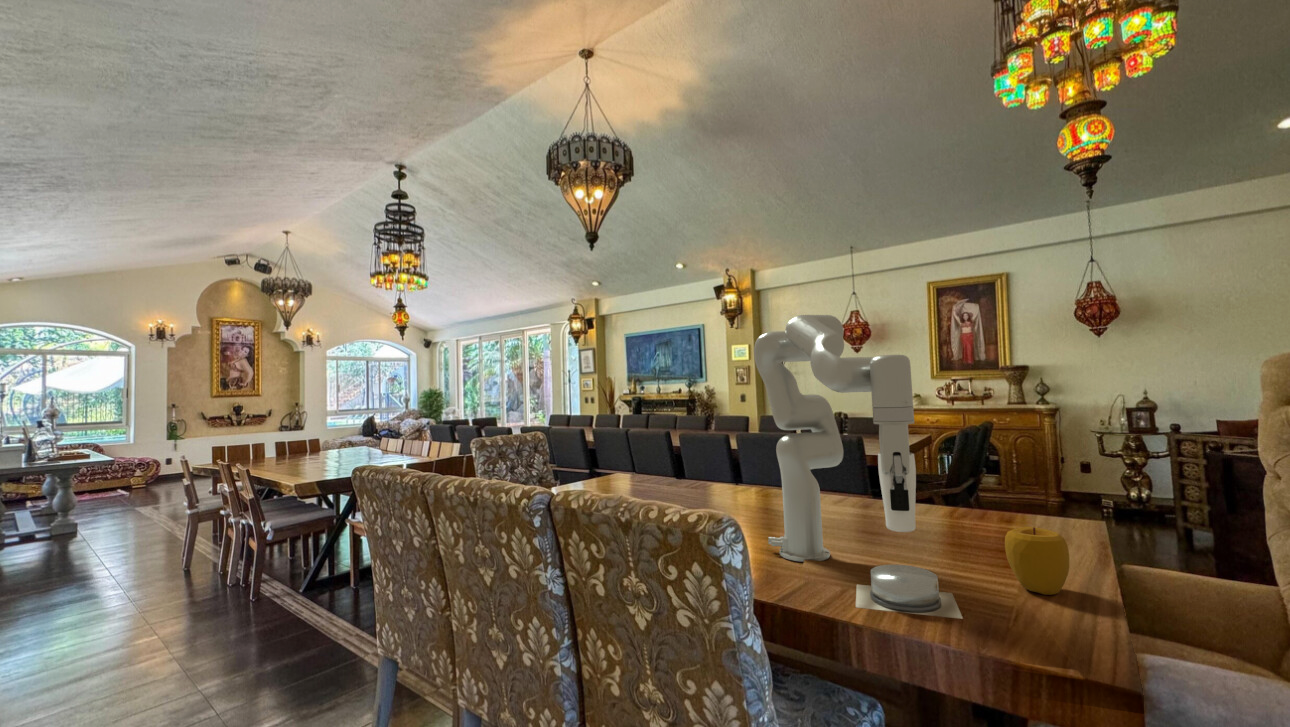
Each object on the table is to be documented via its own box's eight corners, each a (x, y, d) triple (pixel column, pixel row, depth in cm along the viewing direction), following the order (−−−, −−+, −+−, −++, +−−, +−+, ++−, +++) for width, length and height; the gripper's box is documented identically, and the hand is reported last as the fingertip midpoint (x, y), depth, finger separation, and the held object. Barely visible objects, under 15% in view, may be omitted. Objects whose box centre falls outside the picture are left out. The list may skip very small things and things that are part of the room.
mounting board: (855, 612, 103) (855, 607, 103) (856, 589, 115) (856, 584, 115) (963, 624, 97) (962, 618, 97) (952, 598, 109) (952, 593, 109)
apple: (1003, 578, 118) (999, 519, 119) (1064, 584, 114) (1059, 522, 114) (1013, 596, 108) (1008, 531, 109) (1079, 603, 104) (1074, 535, 105)
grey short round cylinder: (870, 608, 103) (869, 581, 103) (870, 585, 114) (868, 561, 115) (945, 616, 98) (943, 588, 98) (937, 591, 110) (935, 566, 110)
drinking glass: (918, 535, 102) (912, 455, 103) (879, 531, 106) (874, 454, 107) (921, 527, 108) (916, 452, 109) (885, 524, 111) (880, 451, 112)
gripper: (872, 414, 118) (877, 498, 116) (873, 418, 102) (879, 515, 100) (910, 413, 115) (916, 499, 114) (917, 418, 99) (924, 517, 98)
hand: (899, 505), depth 107 cm, fingers closed on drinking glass, 6 cm apart
